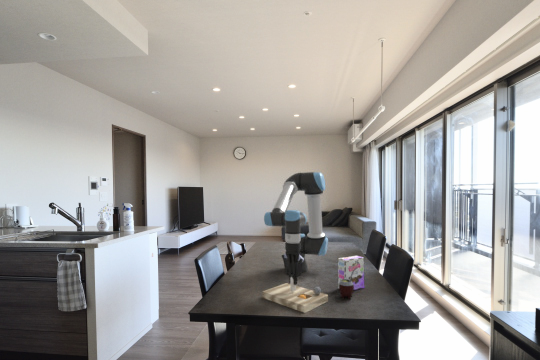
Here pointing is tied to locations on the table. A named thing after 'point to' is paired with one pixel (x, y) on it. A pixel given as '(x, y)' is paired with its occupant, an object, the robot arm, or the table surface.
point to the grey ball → (317, 290)
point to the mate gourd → (346, 287)
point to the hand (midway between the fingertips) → (293, 290)
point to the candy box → (348, 266)
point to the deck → (295, 297)
